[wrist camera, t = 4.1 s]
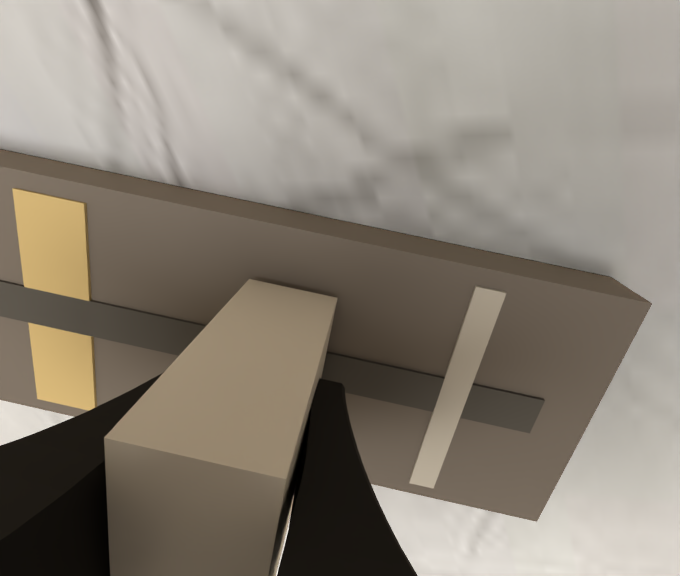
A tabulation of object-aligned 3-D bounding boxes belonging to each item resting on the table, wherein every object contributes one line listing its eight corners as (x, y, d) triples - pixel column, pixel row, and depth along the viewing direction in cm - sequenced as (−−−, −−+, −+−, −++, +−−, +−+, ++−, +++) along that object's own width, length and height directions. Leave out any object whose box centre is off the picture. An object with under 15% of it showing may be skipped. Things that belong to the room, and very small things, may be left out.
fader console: (611, 277, 12) (654, 305, 10) (518, 473, 15) (537, 524, 13) (-24, 144, 13) (-98, 146, 11) (7, 359, 16) (-46, 391, 14)
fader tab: (337, 297, 11) (286, 478, 5) (308, 442, 13) (247, 691, 7) (249, 278, 11) (103, 437, 5) (233, 425, 13) (113, 658, 7)
